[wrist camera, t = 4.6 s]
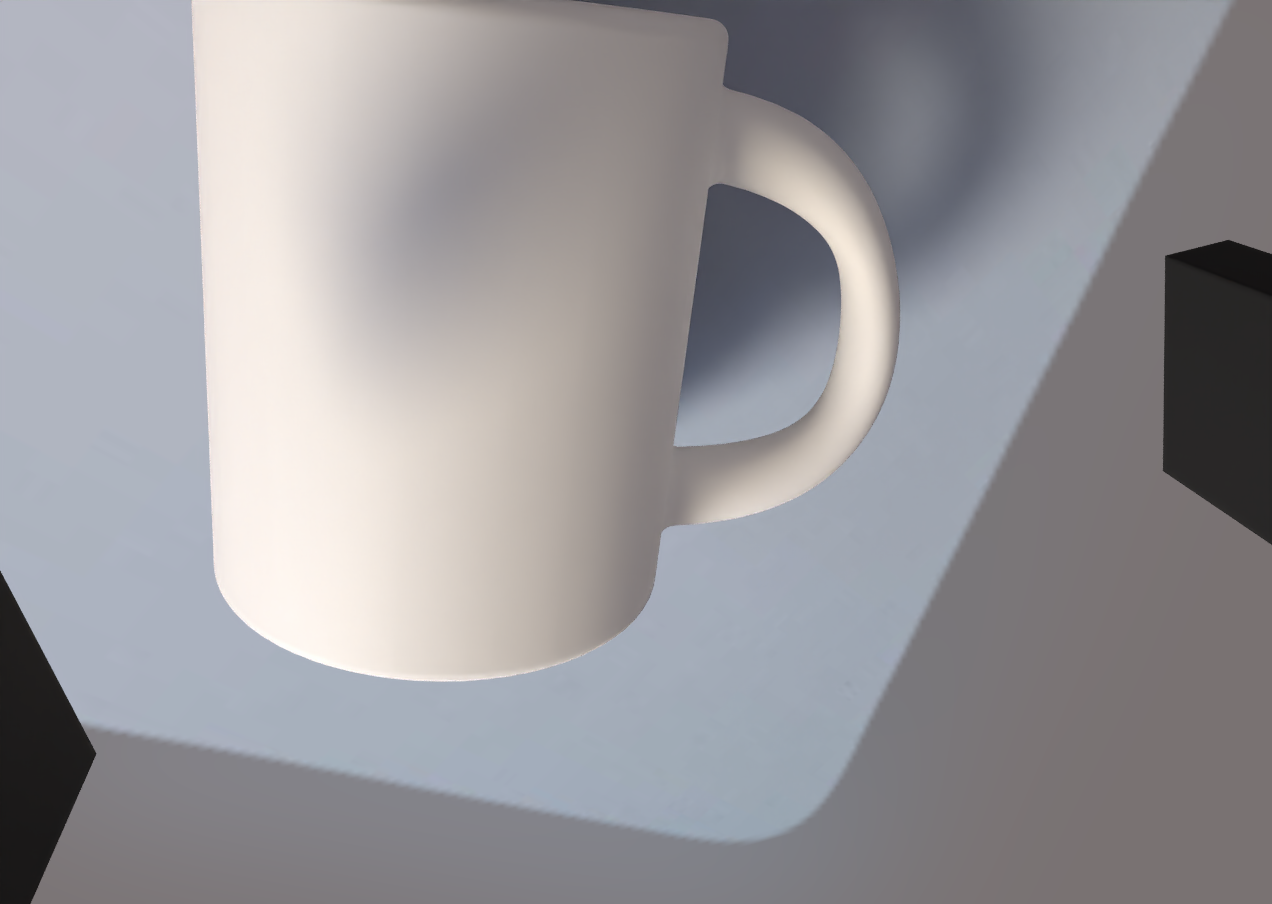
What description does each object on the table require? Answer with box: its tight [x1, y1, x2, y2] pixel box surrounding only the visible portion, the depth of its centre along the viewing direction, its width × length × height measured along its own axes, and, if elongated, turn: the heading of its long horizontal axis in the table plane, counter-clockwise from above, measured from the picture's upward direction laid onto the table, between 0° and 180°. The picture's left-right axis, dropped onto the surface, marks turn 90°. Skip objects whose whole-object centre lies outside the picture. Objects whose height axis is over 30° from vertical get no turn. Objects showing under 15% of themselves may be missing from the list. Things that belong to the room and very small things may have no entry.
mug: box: [192, 0, 900, 681], centre depth 19 cm, size 12×10×8 cm
